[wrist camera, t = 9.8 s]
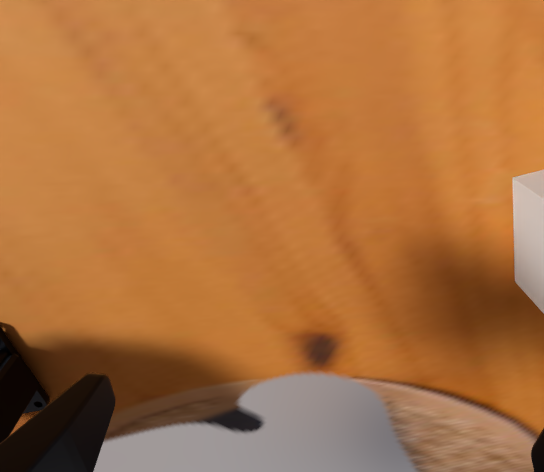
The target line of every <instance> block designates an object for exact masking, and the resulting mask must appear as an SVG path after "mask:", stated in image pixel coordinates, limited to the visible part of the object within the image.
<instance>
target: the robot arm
mask: <svg viewBox="0 0 544 472" xmlns="http://www.w3.org/2000/svg"><path fill="white" fill-rule="evenodd" d="M49 402H50V399H49V397H48V396H47V394H46V393H45V391H44V390H43V388H42V387H41V385H40V384H39V382H38V381H37V380H36V378H35V377H34V375H33V374H32V372H31V371H30V369H29V368H28V366H27V365H26V364H25V362H24V361H23V359H22V358H21V356H20V355H19V353H18V352H17V350H16V349H15V347H14V346H13V345H12V343H11V342H10V340H9V339H8V337H7V336H6V334H5V333H4V331H3V330H2V329H1V328H0V472H93V471H94V468H95V465H96V461H97V458H98V456H99V453H100V449H101V446H102V444H103V441H104V438H105V435H106V432H107V429H108V426H109V423H110V420H111V417H112V413H113V410H114V407H115V395H114V392H113V389H112V385H111V382H110V379H109V377H108V376H107V375H106V374H100V373H88V374H86V375H85V376H83V377H82V378H81V379H80V380H78V381H77V382H76V383H75V384H73V385H72V386H71V387H70V388H68V389H67V390H66V391H65V392H63V393H62V394H61V395H60V396H58V397H57V398H56V399H55V400H53V401H52V402H51V403H50V404H49ZM39 410H41V411H40V412H39V413H37V414H36V415H35V416H34V417H32V418H31V419H30V420H29V421H27V422H26V423H25V424H24V425H22V426H21V427H20V428H19V429H17V430H16V431H15V432H14V433H12V434H11V432H12V431H13V429H14V427H15V426H16V424H17V422H18V421H19V419H20V417H21V416H22V414H23V413H28V412H34V411H39ZM10 434H11V435H10ZM9 435H10V436H9ZM531 457H532V463H533V468H534V472H544V429H543V430H542V432H541V434H540V435H539V437H538V439H537V440H536V442H535V444H534V445H533V447H532V452H531Z"/></svg>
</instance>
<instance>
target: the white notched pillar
mask: <svg viewBox="0 0 544 472" xmlns="http://www.w3.org/2000/svg"><path fill="white" fill-rule="evenodd" d="M513 220H514V264H515V282H516V283H517V285H518V286H519V287H520V288H521V289H522V290H523V291H524V292H525V293H526V295H527V296H528V297H529V298H530V299H531V300H532V301H533V302H534V303H535V305H536V306H537V307H538V308H539V309H540V310H541V311H542V312H543V313H544V170H540V171H536V172H532V173H528V174H525V175H521V176H517V177H513Z"/></svg>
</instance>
